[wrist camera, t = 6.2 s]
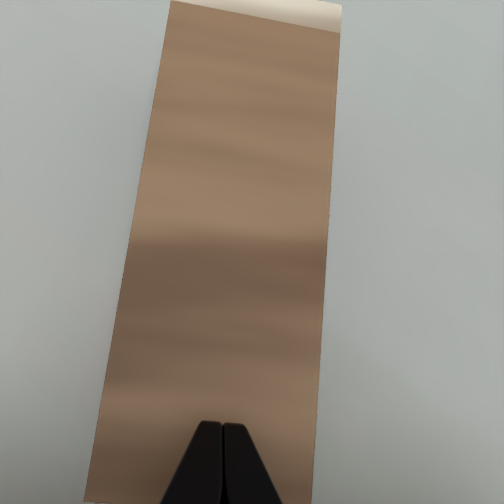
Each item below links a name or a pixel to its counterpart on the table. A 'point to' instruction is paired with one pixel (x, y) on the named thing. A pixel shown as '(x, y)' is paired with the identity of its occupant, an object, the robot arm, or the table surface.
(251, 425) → the walnut block
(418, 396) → the table surface
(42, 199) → the table surface
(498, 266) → the table surface
